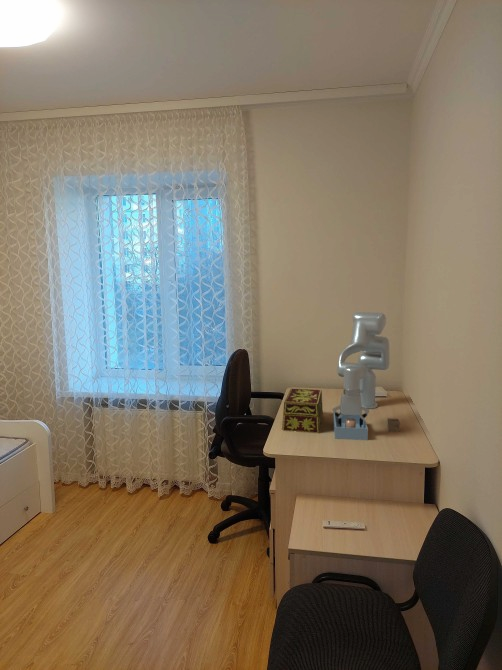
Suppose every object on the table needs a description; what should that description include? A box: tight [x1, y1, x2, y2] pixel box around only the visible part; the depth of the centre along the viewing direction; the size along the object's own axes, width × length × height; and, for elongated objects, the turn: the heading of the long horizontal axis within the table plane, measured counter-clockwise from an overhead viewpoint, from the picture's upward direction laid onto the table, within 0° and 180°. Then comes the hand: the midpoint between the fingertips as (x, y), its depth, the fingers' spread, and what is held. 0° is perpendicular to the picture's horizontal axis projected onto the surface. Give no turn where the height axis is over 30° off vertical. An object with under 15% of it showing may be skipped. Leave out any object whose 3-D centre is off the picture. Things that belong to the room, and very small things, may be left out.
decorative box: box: [281, 388, 324, 434], centre depth 239 cm, size 28×19×15 cm
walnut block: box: [387, 418, 401, 433], centre depth 229 cm, size 5×5×5 cm
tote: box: [332, 412, 369, 441], centre depth 227 cm, size 21×15×6 cm
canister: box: [345, 418, 356, 428], centre depth 222 cm, size 5×5×7 cm
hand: (350, 426), depth 222 cm, fingers open, 9 cm apart
